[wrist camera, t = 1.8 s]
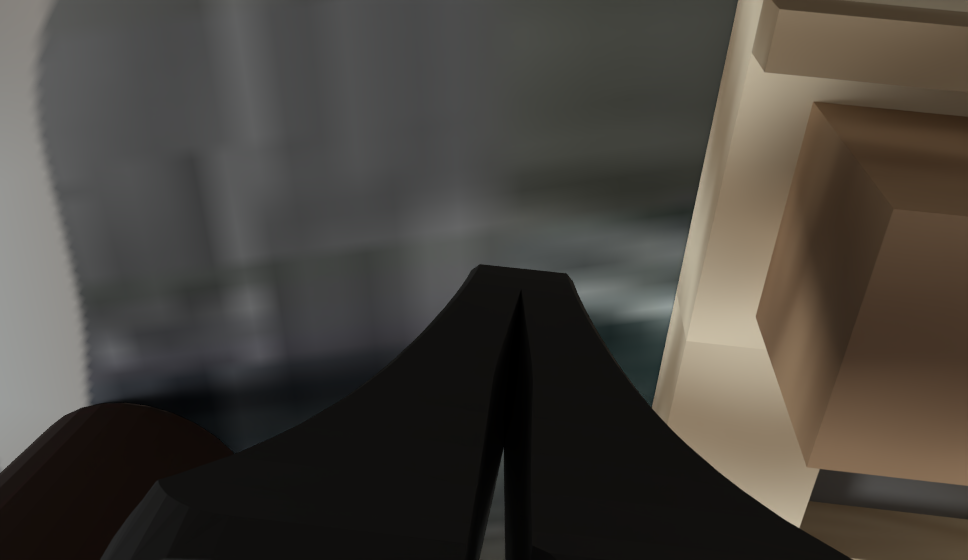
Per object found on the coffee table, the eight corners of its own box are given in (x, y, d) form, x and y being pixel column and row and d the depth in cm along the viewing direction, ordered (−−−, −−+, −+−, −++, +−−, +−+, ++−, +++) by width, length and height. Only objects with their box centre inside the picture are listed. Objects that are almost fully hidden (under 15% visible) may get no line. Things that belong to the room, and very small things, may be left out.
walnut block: (981, 341, 18) (1098, 501, 14) (755, 316, 18) (806, 467, 14) (1073, 127, 15) (1242, 244, 12) (813, 101, 16) (893, 208, 12)
